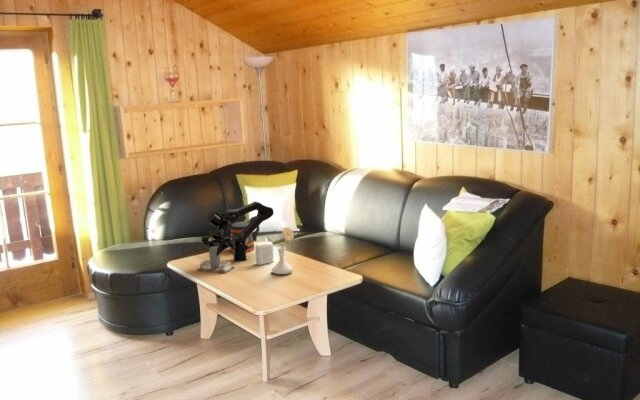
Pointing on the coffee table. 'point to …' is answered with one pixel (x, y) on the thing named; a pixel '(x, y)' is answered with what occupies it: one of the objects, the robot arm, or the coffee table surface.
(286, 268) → the flower in vase
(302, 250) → the coffee table surface
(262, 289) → the coffee table surface
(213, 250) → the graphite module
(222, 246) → the robot arm
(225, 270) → the board
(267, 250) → the photo printer
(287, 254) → the coffee table surface
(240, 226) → the beer stein
